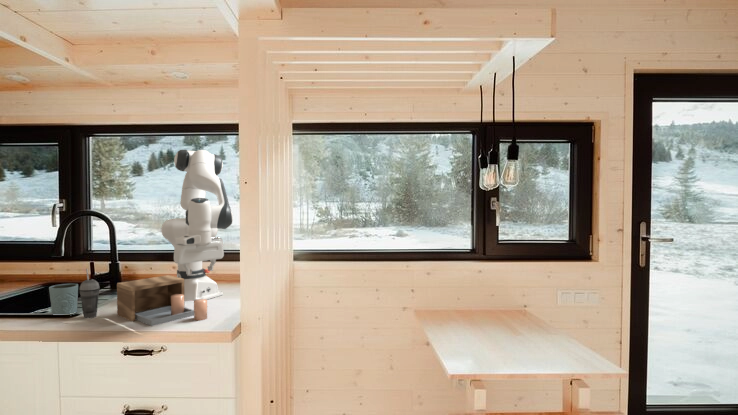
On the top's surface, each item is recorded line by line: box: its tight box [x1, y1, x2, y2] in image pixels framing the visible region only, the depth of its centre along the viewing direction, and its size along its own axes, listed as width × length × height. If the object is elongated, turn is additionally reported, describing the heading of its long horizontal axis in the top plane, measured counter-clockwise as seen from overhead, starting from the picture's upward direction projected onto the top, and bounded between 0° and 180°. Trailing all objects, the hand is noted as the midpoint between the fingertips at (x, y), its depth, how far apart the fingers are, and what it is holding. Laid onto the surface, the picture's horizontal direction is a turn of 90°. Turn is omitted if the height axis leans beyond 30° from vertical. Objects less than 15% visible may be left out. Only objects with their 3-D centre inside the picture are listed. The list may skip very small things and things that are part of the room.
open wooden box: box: [116, 274, 186, 322], centre depth 181 cm, size 22×13×14 cm, turn 143°
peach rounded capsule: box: [193, 299, 208, 321], centre depth 173 cm, size 5×5×8 cm
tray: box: [135, 305, 194, 327], centre depth 175 cm, size 18×15×3 cm
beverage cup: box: [78, 268, 101, 319], centre depth 176 cm, size 7×7×20 cm
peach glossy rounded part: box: [171, 294, 185, 315], centre depth 178 cm, size 5×5×8 cm
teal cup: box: [48, 283, 79, 315], centre depth 180 cm, size 10×10×12 cm
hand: (199, 272), depth 173 cm, fingers open, 8 cm apart
